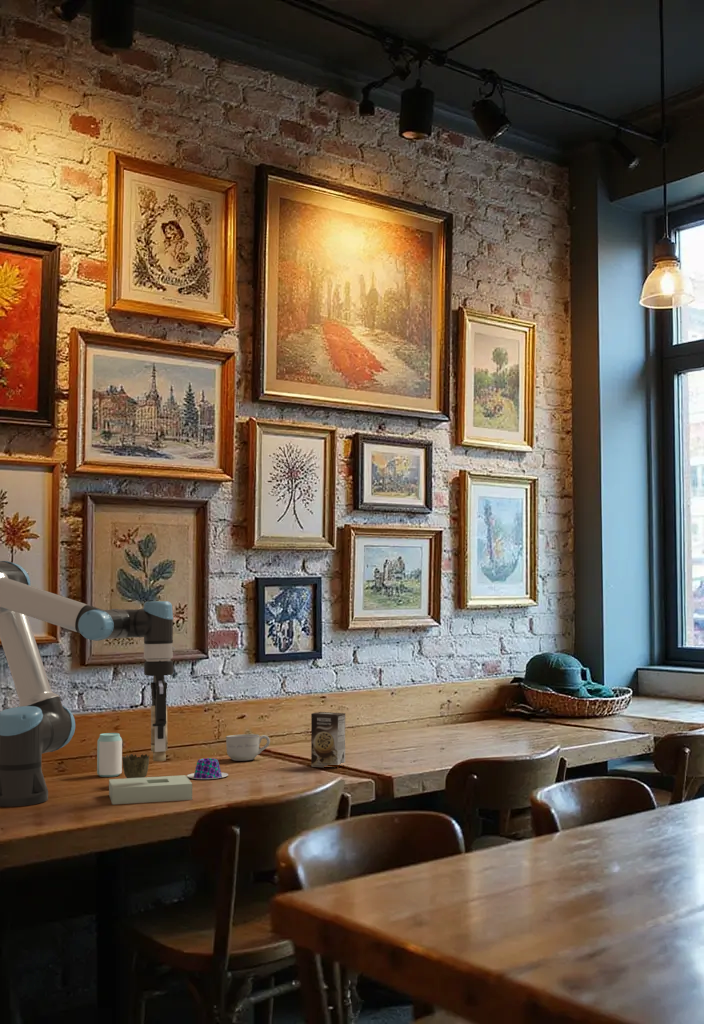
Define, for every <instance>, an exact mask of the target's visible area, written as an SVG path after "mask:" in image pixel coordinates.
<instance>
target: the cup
mask: <svg viewBox="0 0 704 1024" xmlns="http://www.w3.org/2000/svg"><path fill="white" fill-rule="evenodd" d="M149 763H150V755H147V754H140V756H137V754H132V753H131V754H130V755H128V754H126V756H125V755H122V768H123V769H122V770H123V773H124V775H125V778H143V777H146V776H147V774H148V770H149Z"/></svg>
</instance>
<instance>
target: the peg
mask: <svg viewBox="0 0 704 1024" xmlns="http://www.w3.org/2000/svg"><path fill="white" fill-rule="evenodd" d="M166 721H167V723H166V724H165V735H166V751H168V743H169V742H168V705H167V704H166ZM153 724H155V706H152V705H151V706H150V752H152V761H153V762H164V761H165V762H166V760H167V759H166V755H167V754H166V751H163V752H155V726H153Z"/></svg>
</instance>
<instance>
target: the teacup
mask: <svg viewBox="0 0 704 1024" xmlns="http://www.w3.org/2000/svg"><path fill="white" fill-rule="evenodd" d="M225 739H226V741H225V742H226V746H225V747H226V753H227V754H226V755H227V756H228V757H229V758H230V759H231V760H232V761H234V762H235V761H237V762H241V761H243V762H244V761H253V760H255V758H257V756H258V755H260V754H261V753H262V751H265V749H267V748H268V747H270V743H271V739H270V737H269V736H268V735H265V734H263V735H259V734H258V733H257V734H253V733H251V734H250V733H248V734H245V733H242V734H233V735H226V736H225ZM263 739H265V740H266V744H264V745H263V746H262V747H260V744H261V742H262V740H263Z"/></svg>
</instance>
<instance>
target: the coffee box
mask: <svg viewBox="0 0 704 1024" xmlns="http://www.w3.org/2000/svg"><path fill="white" fill-rule="evenodd" d="M310 720H311V721H310V722H311V723H310V724H311V726H310V727H311V731H310V732H311V734H310V735H311V737H310V738H311V739H310V740H311V741H310V743H311V745H310V746H311V747H310V748H311V749H310V752H311V753H310V755H311V757H310V758H311V761H310V762H311V765H310V766H311V768H324V766H327V765H339V764H341V763H344V762H345V763H346V713H345V712H329V711H328V712H327V711H326V712H325V711H316V712H312V713H311V718H310Z"/></svg>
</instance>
